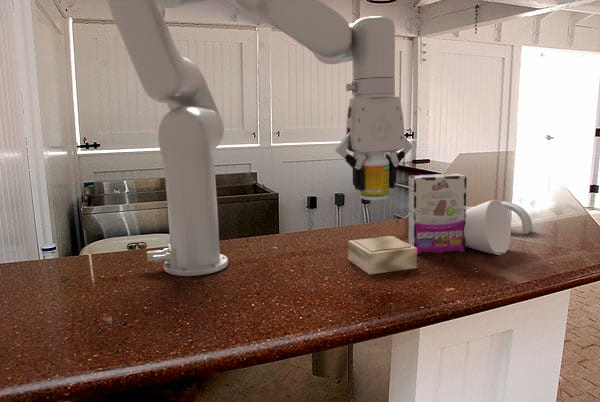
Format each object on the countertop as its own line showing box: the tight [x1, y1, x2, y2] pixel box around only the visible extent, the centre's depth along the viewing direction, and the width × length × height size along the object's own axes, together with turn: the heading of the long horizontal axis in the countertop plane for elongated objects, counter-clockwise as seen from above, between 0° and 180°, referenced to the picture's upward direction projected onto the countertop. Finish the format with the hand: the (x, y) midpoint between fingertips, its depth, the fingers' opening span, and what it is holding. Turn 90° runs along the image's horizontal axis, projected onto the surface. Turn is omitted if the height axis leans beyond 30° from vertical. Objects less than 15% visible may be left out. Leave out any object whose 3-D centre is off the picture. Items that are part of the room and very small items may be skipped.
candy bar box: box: [408, 172, 468, 255], centre depth 103 cm, size 11×5×16 cm, turn 93°
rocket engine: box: [464, 199, 512, 256], centre depth 107 cm, size 12×12×18 cm
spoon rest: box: [466, 200, 534, 235], centre depth 124 cm, size 24×12×7 cm, turn 50°
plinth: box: [347, 235, 418, 275], centre depth 96 cm, size 10×10×4 cm
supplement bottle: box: [359, 152, 390, 201], centre depth 90 cm, size 5×5×10 cm
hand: (374, 187), depth 91 cm, fingers closed on supplement bottle, 5 cm apart
